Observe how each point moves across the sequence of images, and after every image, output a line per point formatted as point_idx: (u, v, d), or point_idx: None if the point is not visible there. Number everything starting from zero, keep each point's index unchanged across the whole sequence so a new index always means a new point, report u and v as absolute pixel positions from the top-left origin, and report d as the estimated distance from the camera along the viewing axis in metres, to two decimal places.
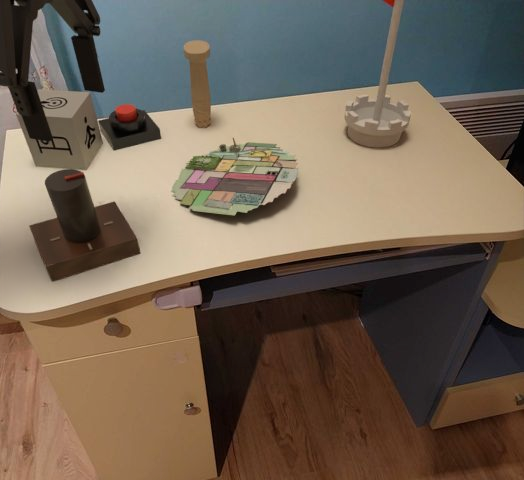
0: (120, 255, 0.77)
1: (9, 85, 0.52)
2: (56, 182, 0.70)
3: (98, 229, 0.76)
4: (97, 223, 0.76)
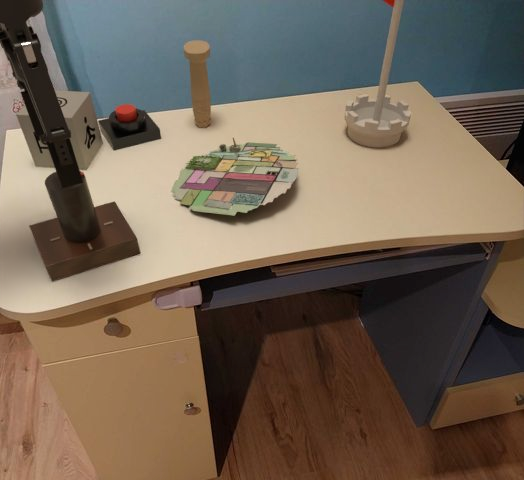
0: (120, 255, 0.77)
1: (69, 136, 0.57)
2: (56, 182, 0.70)
3: (98, 229, 0.76)
4: (97, 223, 0.76)
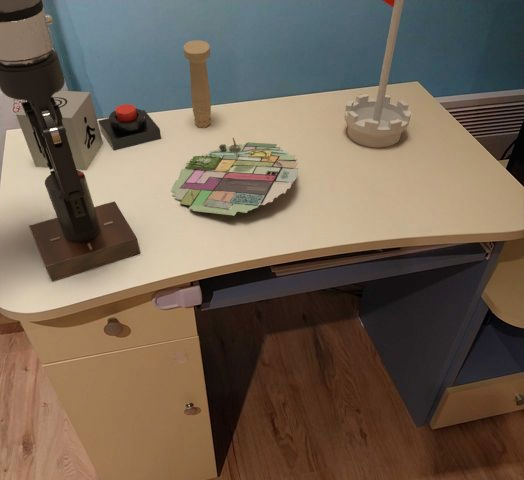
0: (120, 255, 0.77)
1: (83, 196, 0.67)
2: (56, 182, 0.70)
3: (98, 229, 0.76)
4: (97, 223, 0.76)
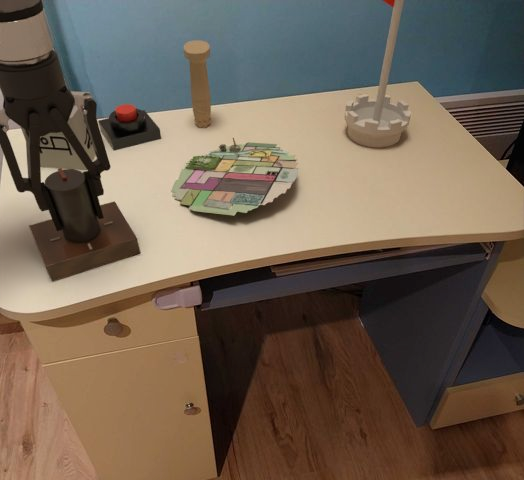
0: (120, 255, 0.77)
1: None
2: (68, 183, 0.70)
3: None
4: None
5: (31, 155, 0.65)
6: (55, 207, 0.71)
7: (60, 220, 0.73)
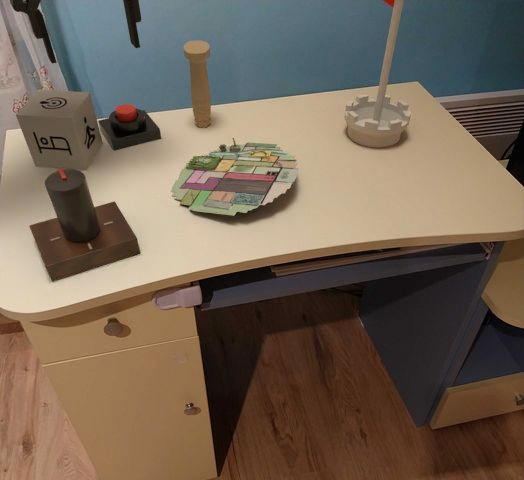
0: (120, 255, 0.77)
1: None
2: (68, 183, 0.70)
3: None
4: None
5: None
6: (55, 207, 0.71)
7: (60, 220, 0.73)
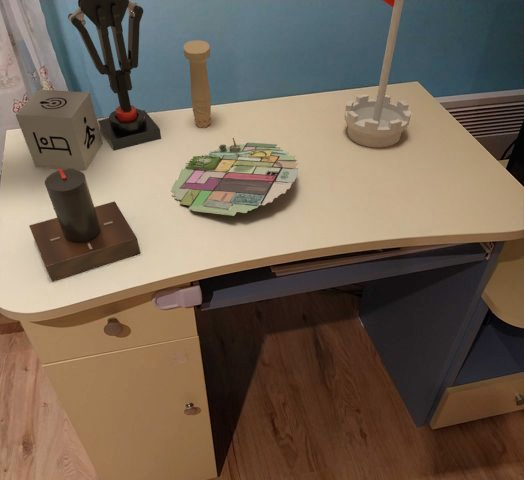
0: (120, 255, 0.77)
1: None
2: (68, 183, 0.70)
3: None
4: None
5: (104, 44, 0.88)
6: (55, 207, 0.71)
7: (60, 220, 0.73)
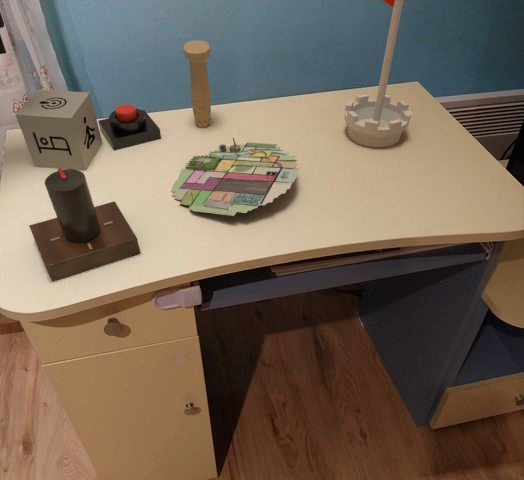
0: (120, 255, 0.77)
1: None
2: (68, 183, 0.70)
3: None
4: None
5: None
6: (55, 207, 0.71)
7: (60, 220, 0.73)
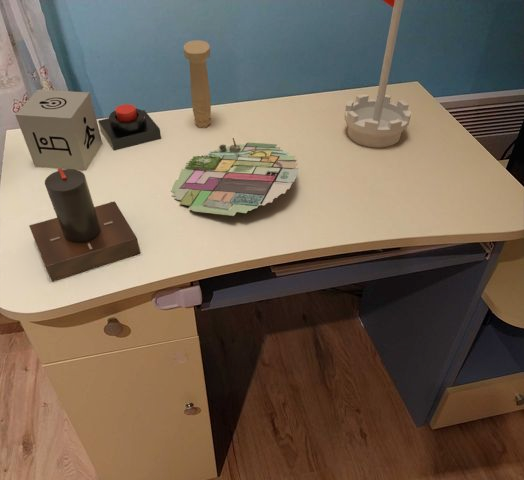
0: (120, 255, 0.77)
1: None
2: (68, 183, 0.70)
3: None
4: None
5: None
6: (55, 207, 0.71)
7: (60, 220, 0.73)
